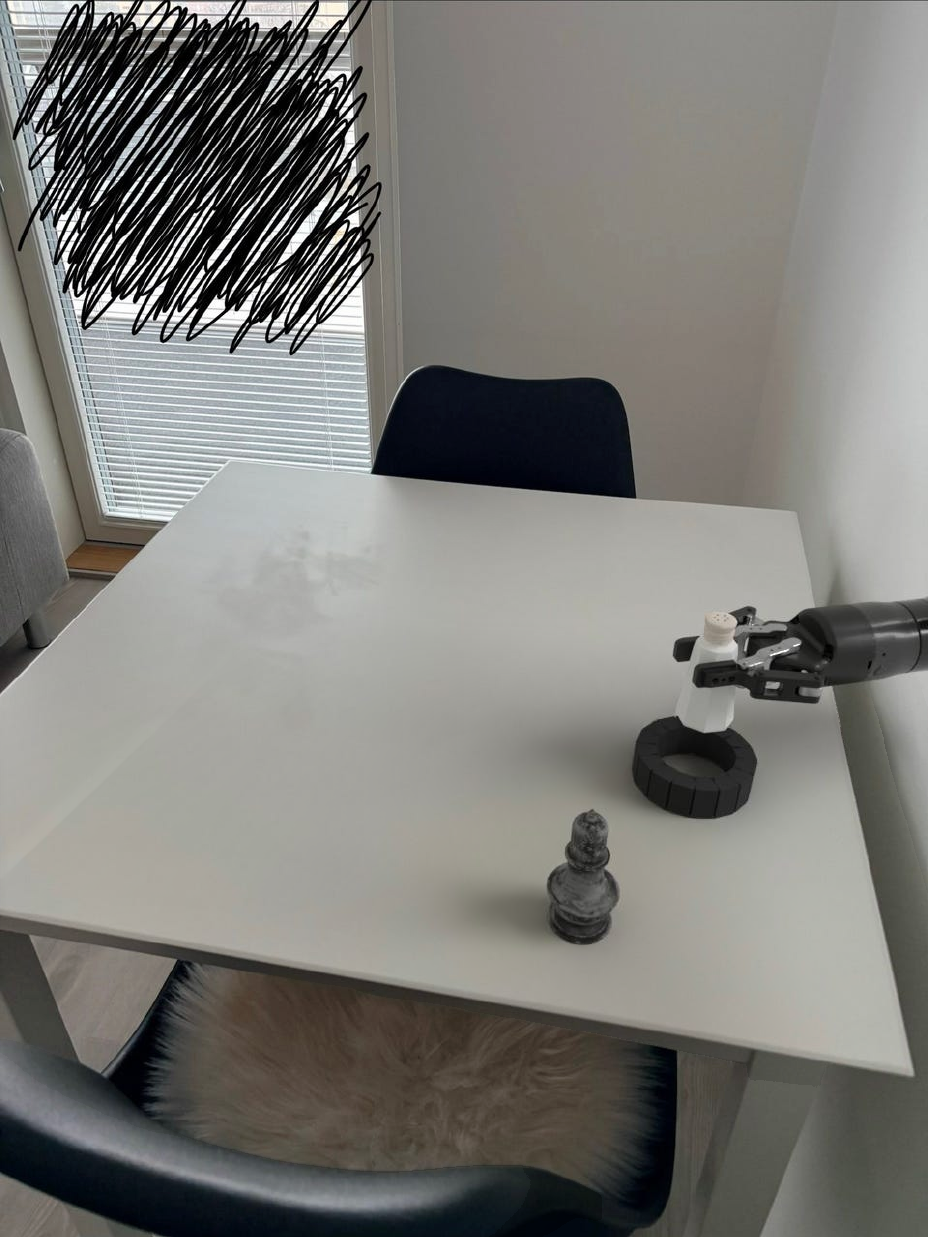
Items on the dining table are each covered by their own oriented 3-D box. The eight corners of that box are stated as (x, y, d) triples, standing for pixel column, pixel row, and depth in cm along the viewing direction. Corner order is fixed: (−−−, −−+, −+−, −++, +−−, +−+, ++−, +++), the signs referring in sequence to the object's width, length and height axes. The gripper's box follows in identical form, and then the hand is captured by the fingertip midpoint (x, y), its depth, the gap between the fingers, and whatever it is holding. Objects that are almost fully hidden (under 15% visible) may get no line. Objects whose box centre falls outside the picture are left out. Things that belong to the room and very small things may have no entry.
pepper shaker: (674, 729, 82) (690, 629, 76) (675, 696, 87) (690, 599, 81) (734, 737, 81) (754, 637, 75) (732, 704, 86) (751, 606, 80)
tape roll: (772, 781, 87) (779, 754, 86) (706, 836, 81) (712, 808, 79) (677, 728, 95) (682, 702, 93) (609, 774, 88) (612, 747, 86)
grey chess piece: (536, 936, 71) (545, 826, 65) (553, 883, 76) (563, 776, 69) (608, 956, 69) (624, 845, 63) (620, 900, 74) (637, 793, 68)
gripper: (819, 573, 87) (658, 590, 84) (911, 649, 75) (727, 672, 72) (804, 637, 91) (649, 656, 88) (889, 719, 79) (713, 744, 76)
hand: (685, 663), depth 80 cm, fingers closed on pepper shaker, 3 cm apart
